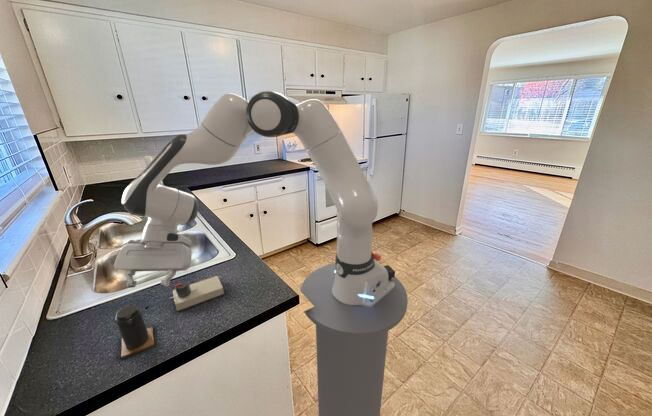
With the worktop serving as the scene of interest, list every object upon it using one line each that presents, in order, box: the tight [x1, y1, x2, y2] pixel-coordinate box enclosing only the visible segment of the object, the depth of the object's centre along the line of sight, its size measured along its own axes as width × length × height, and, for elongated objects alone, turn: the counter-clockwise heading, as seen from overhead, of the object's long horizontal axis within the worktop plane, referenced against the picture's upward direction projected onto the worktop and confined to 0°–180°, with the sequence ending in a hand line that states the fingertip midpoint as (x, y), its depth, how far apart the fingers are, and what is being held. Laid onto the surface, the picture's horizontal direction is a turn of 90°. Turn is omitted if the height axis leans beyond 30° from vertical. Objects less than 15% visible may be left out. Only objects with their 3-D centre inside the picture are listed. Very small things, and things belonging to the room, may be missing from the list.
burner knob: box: [174, 280, 191, 298], centre depth 84 cm, size 4×4×4 cm
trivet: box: [120, 326, 155, 359], centre depth 71 cm, size 7×7×1 cm
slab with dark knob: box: [169, 275, 225, 312], centre depth 87 cm, size 15×8×3 cm, turn 124°
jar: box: [114, 304, 149, 349], centre depth 69 cm, size 5×5×10 cm
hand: (147, 286), depth 75 cm, fingers open, 8 cm apart
